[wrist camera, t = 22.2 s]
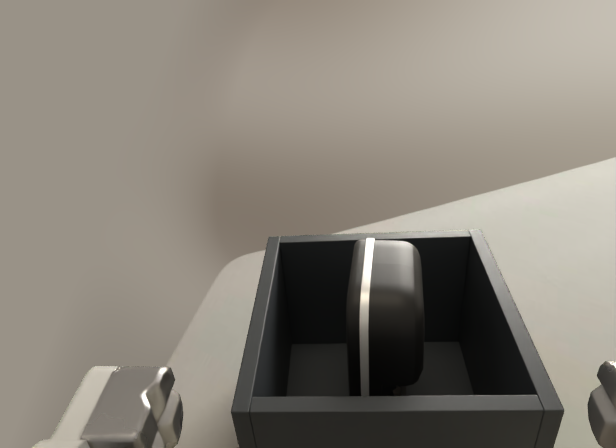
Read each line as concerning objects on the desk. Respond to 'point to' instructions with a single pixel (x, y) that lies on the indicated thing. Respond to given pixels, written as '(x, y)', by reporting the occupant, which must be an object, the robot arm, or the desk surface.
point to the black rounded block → (384, 318)
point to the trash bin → (437, 355)
